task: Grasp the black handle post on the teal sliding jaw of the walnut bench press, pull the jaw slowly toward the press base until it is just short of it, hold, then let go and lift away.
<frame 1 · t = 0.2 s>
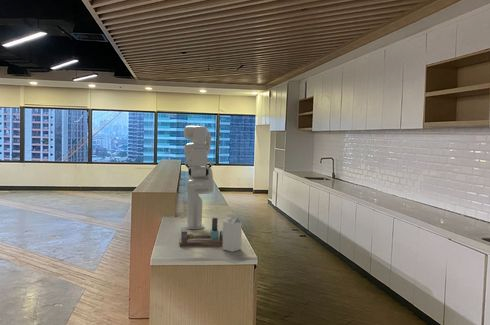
hand: (198, 175, 262), 36 cm above the countertop, tool pointing down, fingers open, 9 cm apart
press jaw: (214, 228, 249), point 8 cm above the countertop, slide at 0.0 cm
milk carton: (231, 249, 237), on the countertop
press base: (201, 243, 248), on the countertop
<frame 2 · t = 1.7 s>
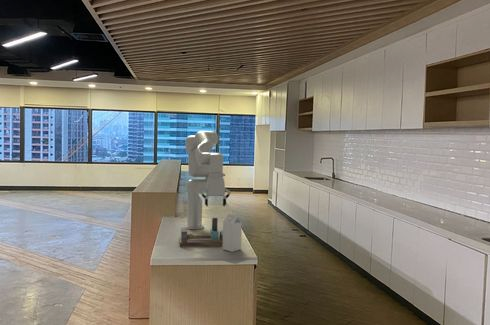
hand: (215, 206, 247), 21 cm above the countertop, tool pointing down, fingers open, 9 cm apart
nothing on the countertop moved.
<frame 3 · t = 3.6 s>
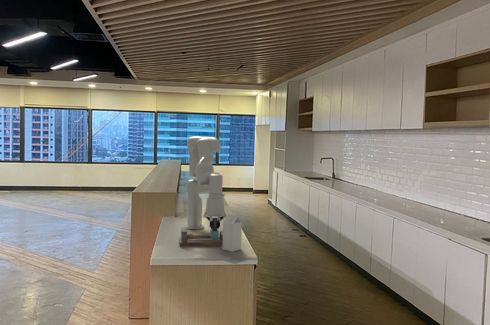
hand: (214, 228, 249), 9 cm above the countertop, tool pointing down, fingers closed on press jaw, 3 cm apart
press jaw: (214, 228, 249), point 8 cm above the countertop, slide at 0.0 cm, touching gripper
everything else where it was.
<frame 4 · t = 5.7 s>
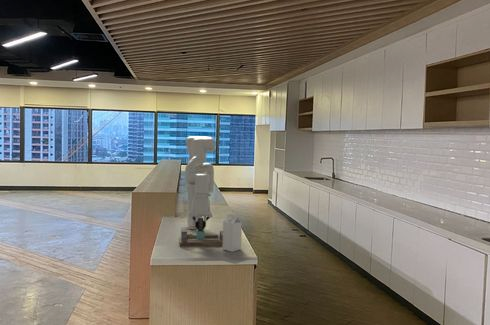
hand: (200, 228, 247), 9 cm above the countertop, tool pointing down, fingers closed on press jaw, 3 cm apart
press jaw: (200, 228, 247), point 8 cm above the countertop, slide at 7.9 cm, touching gripper
everything else where it was.
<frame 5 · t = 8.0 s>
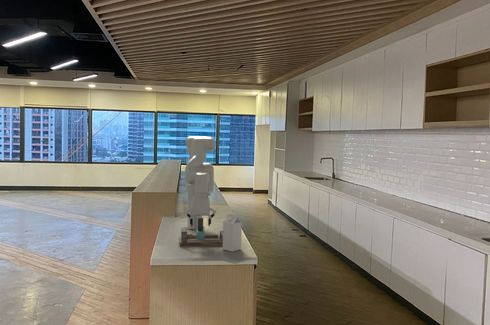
hand: (200, 225, 247), 10 cm above the countertop, tool pointing down, fingers open, 9 cm apart
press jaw: (200, 228, 247), point 8 cm above the countertop, slide at 8.0 cm
everything else where it was.
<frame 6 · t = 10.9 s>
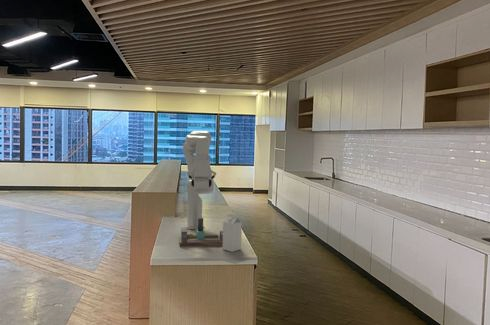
hand: (201, 186, 260), 30 cm above the countertop, tool pointing down, fingers open, 9 cm apart
nothing on the countertop moved.
at the end: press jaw slide at 8.0 cm; the gripper is holding nothing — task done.
